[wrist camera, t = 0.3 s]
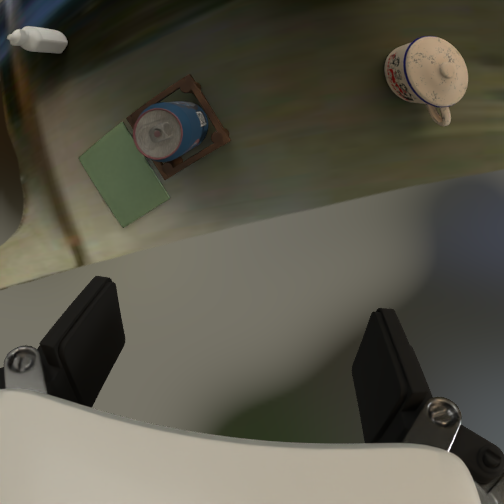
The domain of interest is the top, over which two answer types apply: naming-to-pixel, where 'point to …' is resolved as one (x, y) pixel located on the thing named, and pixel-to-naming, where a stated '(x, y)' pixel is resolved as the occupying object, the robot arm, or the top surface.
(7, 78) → the top surface
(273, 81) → the top surface
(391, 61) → the teacup with lid
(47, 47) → the eye dropper bottle
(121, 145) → the mat
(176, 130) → the soda can
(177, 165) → the can rack
